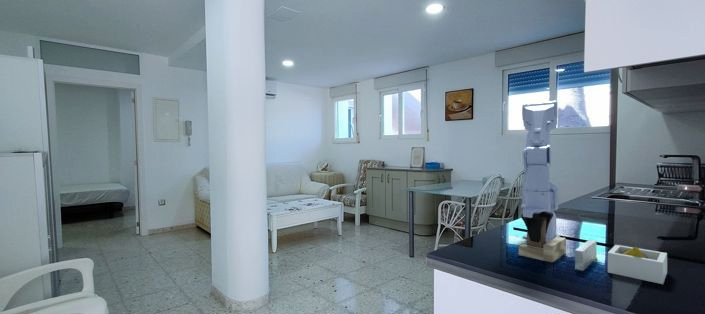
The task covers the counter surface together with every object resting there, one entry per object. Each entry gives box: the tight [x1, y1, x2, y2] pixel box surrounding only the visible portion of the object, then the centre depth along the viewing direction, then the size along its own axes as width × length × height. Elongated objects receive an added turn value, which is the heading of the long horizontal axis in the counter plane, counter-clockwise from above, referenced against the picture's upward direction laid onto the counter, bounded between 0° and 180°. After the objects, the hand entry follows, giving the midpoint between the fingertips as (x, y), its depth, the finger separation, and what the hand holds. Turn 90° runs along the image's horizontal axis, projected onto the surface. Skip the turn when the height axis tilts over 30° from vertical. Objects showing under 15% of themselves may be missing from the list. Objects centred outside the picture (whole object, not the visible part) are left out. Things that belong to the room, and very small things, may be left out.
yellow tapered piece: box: [620, 246, 649, 259], centre depth 71 cm, size 5×5×10 cm
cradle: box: [518, 236, 567, 263], centre depth 85 cm, size 11×8×4 cm
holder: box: [607, 244, 668, 285], centre depth 71 cm, size 9×9×4 cm
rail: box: [574, 239, 598, 272], centre depth 77 cm, size 13×2×4 cm, turn 131°
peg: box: [526, 220, 546, 248], centre depth 86 cm, size 4×4×9 cm
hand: (537, 240), depth 86 cm, fingers closed on peg, 3 cm apart
